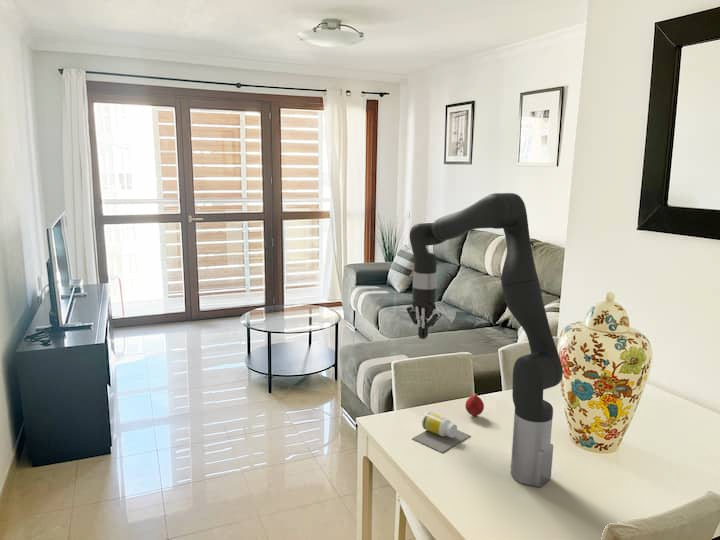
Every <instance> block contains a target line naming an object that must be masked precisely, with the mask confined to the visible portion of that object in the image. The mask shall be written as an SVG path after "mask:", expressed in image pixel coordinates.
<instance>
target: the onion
mask: <svg viewBox="0 0 720 540" xmlns="http://www.w3.org/2000/svg"><path fill="white" fill-rule="evenodd" d="M484 409H485V405H484V402H483V399H481V398H480V396H478V393H474V394H473V395H471V396H470V397H469V398H468V399H466V401H465V410H466V412H467V413H468V414H469V415H470V416H472V417H473V418H476V417H478V416H479V415H481V414H482V413H483V412H484Z"/></svg>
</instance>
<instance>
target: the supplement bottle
mask: <svg viewBox="0 0 720 540" xmlns="http://www.w3.org/2000/svg"><path fill="white" fill-rule="evenodd" d="M421 425H422V426H421V427H422V428H423V429H424V430H425V431H427V430H428V431H430V432H432V433H435V434H437V435H440V436H442V437H445V436H448V437H450V438H453V437H454V436H455V434H456V432H457V430H458V426H457V424H455V423H452V422H451V420H450V419H448V418H446V417H444V416H441V415H438V414H437V413H434V412H431V411H427V412H426V413H425V414H424V416H423V417H422V421H421Z"/></svg>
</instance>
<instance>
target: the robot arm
mask: <svg viewBox="0 0 720 540" xmlns="http://www.w3.org/2000/svg"><path fill="white" fill-rule="evenodd" d="M527 214H528V213H527V206H526V204H525V202H524V200H523V198H522V197H521V195H519V194H517V193H512V192H496V193H495V192H494V193H490V194H488V195H485V196H484V197H483V198H480V199H479V200H478V201H476V202H474V203H473V204H471V205H469V206H468V207H465V208H463V209H462V210H459V211H456V212H453V213H450V214H447V215H445V216H441V217H439V218H437V219H435V220H434V221H433V222H426V223H425V222H424V223H422V222H421V223H416V224H413V225H412V227H411V229H410V232H409V242H410V247H411V249H412V255H413V258H414V259H413V260H414V262H413V263H414V264H413V276H412V297H411V298H412V300H413V302H412V304H411V305H410V306H408V307H407V308H406V311H407V313H408V316H409V317H410V319H411V320H412V321H411V322H412V323H413V324H414V325H417V327H418V329H417V330H418V331H417V335H418V339H422V340H425V339H427V338H428V336H429V328H430V327H433V326H435V324H436V323H437V322H438V321H439V320H440V318H441V317H442V313H441V312H439V311H437V306H436V300H437V280H438V279H437V278H438V277H437V263H438V262H437V256H436V255H435V254H434V253H432V252H429V251H427V250H428V249H427V246H436V245H441V244H442V243H444V242H446V241H448V240H452V239H455V238H459V237H462V236H463V235H465V234H467V233H468V232H469V231H472V230H477V229H495V230H498V229H499V230H500V229H503V233H504V236H505V242H506V255H505V259H504V263H503V267H502V271H501V277H500V278H501V279H500V281H501V287H502V292H503V296H504V301H505V305H506V308H507V309H508V310H509V312H510V313H511V314H512V316H513V317H514V319H515V320H516V322H518V324H519V325H520V326H521V328H522V329H523V331H524V333H525V335H526V338H527V341H528V345H529V350H530V353H529V354H525V355H521V356H519V357H518V358H517V359H516V361H515V363H514V365H513V367H512V368H513V370H512V395H511V396H512V402H513V406H514V415H513V416H514V418H513V428H512V429H513V430H512V444H511V445H512V446H511V460H510V475H511V477H512V479H514V480H515V481H516V482H518V483H519V484H523V485H525V486H531V487H537V488H542V487H543V485H545V484H546V483H548V482H549V480H551V479H552V469H553V468H552V467H553V458H554V457H553V455H554V444H552V443H551V441H552V428H553V427H552V426H553V417H554V407H553V405H552V404H551V403H550V402H548V400H545V399H544V390H547V389H551V388H553V387H556V386H557V385H559V384H560V383H561V381H562V379H563V374H564V373H563V372H564V371H563V364H562V361H561V358H560V354H559V352H558V349H557V345H556V343H555V340H554V337H553V333H552V330H551V328H550V324H549V319H548V315H547V312H546V307H545V304H544V303H545V302H544V300H543V294H542V293H543V292H542V289H541V286H540V285H541V284H540V280H539V275H538V272H537V268H536V264H535V260H534V254H533V251H532V250H533V249H532V245H531V239H530V238H531V237H530V231H529V230H530V229H529V223H528V222H529V221H528V215H527Z"/></svg>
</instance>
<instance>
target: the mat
mask: <svg viewBox="0 0 720 540" xmlns="http://www.w3.org/2000/svg"><path fill="white" fill-rule="evenodd" d="M469 436H470V437H471V434H468V433H466V432H463V431H460V430H458V429H457V432H456V434H455V436H454V437H453V438H450V437H448V436H445V437H442V436H440V435H437V434H435V433H432V432H430V431H428V430H425V431H423V432H422V433H419V434H418V435H415V436H414V437H412V438H411V440H413V441H415V442H418V443H420V444H422V445H423V446H425V447H429V448H430V449H432V450H435V451H437V452H439V453H441V454H443V453H446V452H447V451H449V450H450V449H452V448H454V447H456V446H457V445H458V443H459V444H460V443H461V442H464V441H466V440H467V439H468V438H470V437H469ZM467 437H468V438H467ZM466 438H467V439H466Z"/></svg>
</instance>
